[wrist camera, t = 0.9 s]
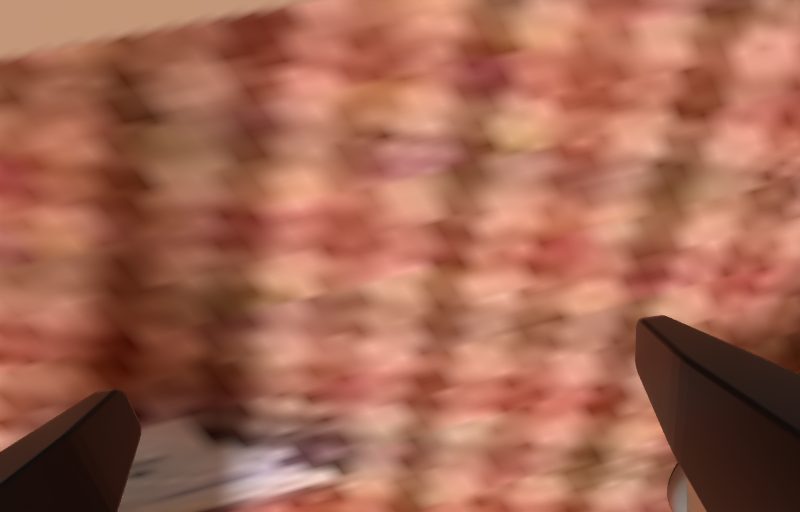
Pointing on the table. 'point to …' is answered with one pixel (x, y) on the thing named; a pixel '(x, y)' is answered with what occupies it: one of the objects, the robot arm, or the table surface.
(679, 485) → the press carafe
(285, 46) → the table surface
